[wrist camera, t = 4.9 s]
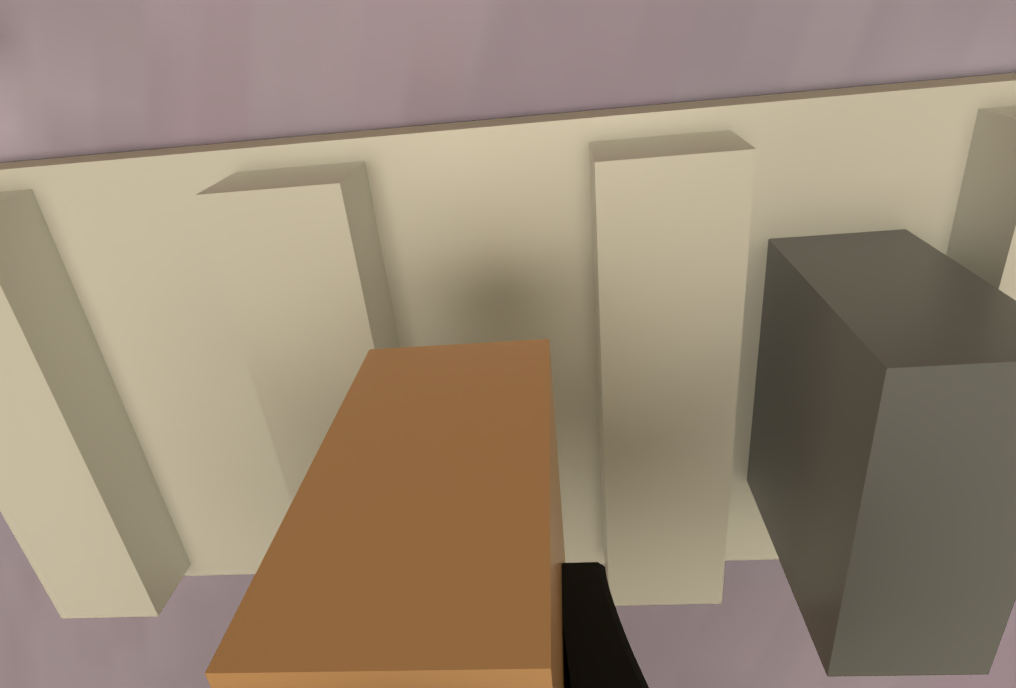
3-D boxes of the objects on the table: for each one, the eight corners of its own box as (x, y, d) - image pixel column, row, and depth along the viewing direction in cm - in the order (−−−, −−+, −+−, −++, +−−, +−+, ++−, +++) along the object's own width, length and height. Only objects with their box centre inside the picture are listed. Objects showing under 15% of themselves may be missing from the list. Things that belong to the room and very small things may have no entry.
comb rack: (968, 528, 20) (1033, 610, 17) (125, 555, 22) (68, 629, 20) (1105, 64, 14) (1235, 80, 11) (-61, 168, 17) (-178, 201, 14)
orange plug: (570, 634, 14) (584, 1024, 9) (430, 637, 14) (361, 1015, 9) (549, 339, 11) (551, 669, 5) (369, 349, 11) (204, 673, 6)
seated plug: (859, 476, 18) (988, 674, 13) (746, 480, 18) (827, 676, 13) (905, 229, 15) (1103, 357, 10) (768, 238, 15) (886, 368, 10)
